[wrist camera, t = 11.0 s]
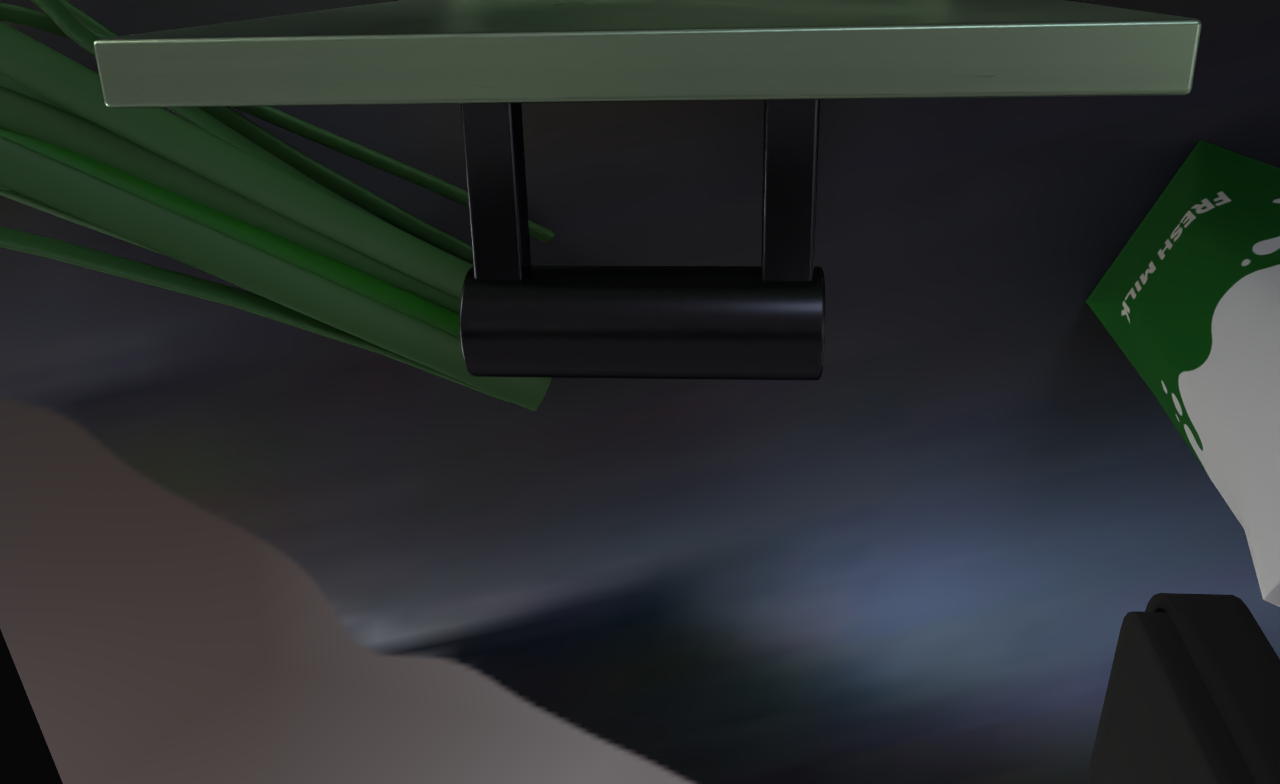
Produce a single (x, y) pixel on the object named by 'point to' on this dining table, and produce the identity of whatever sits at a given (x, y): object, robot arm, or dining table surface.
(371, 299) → the daffodil flowers
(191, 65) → the bin lid
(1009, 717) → the dining table surface
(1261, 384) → the milk carton
